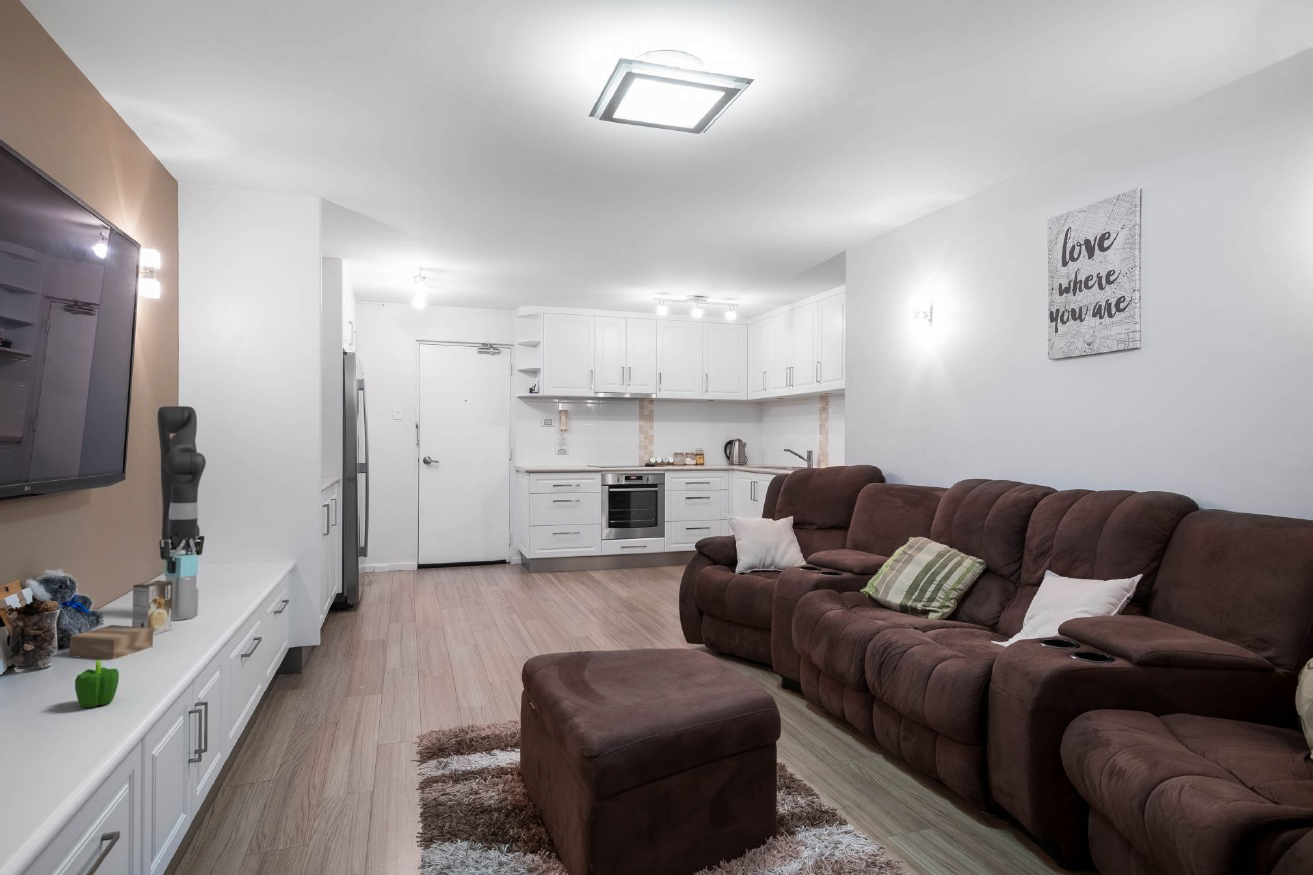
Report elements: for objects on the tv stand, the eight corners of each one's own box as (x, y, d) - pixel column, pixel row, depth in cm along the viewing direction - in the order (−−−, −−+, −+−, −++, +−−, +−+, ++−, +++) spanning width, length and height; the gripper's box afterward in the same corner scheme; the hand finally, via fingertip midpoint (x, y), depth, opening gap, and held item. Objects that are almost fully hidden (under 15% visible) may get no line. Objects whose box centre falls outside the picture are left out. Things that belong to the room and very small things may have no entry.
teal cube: (182, 572, 232) (182, 553, 232) (197, 574, 231) (198, 555, 231) (164, 576, 226) (165, 556, 226) (180, 577, 225) (181, 557, 225)
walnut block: (111, 644, 227) (111, 624, 227) (152, 647, 225) (153, 627, 225) (69, 657, 213) (70, 636, 213) (113, 660, 211) (114, 639, 211)
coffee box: (155, 628, 246) (157, 579, 246) (171, 629, 245) (173, 581, 245) (130, 635, 237) (132, 584, 237) (147, 636, 236) (149, 586, 236)
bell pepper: (109, 709, 174) (111, 666, 174) (68, 711, 172) (70, 668, 172) (124, 697, 182) (125, 656, 182) (84, 699, 180) (86, 658, 180)
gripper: (194, 514, 237) (191, 567, 236) (152, 518, 223) (150, 574, 223) (212, 515, 235) (210, 568, 234) (171, 519, 221) (169, 576, 221)
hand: (181, 571), depth 228 cm, fingers closed on teal cube, 6 cm apart
